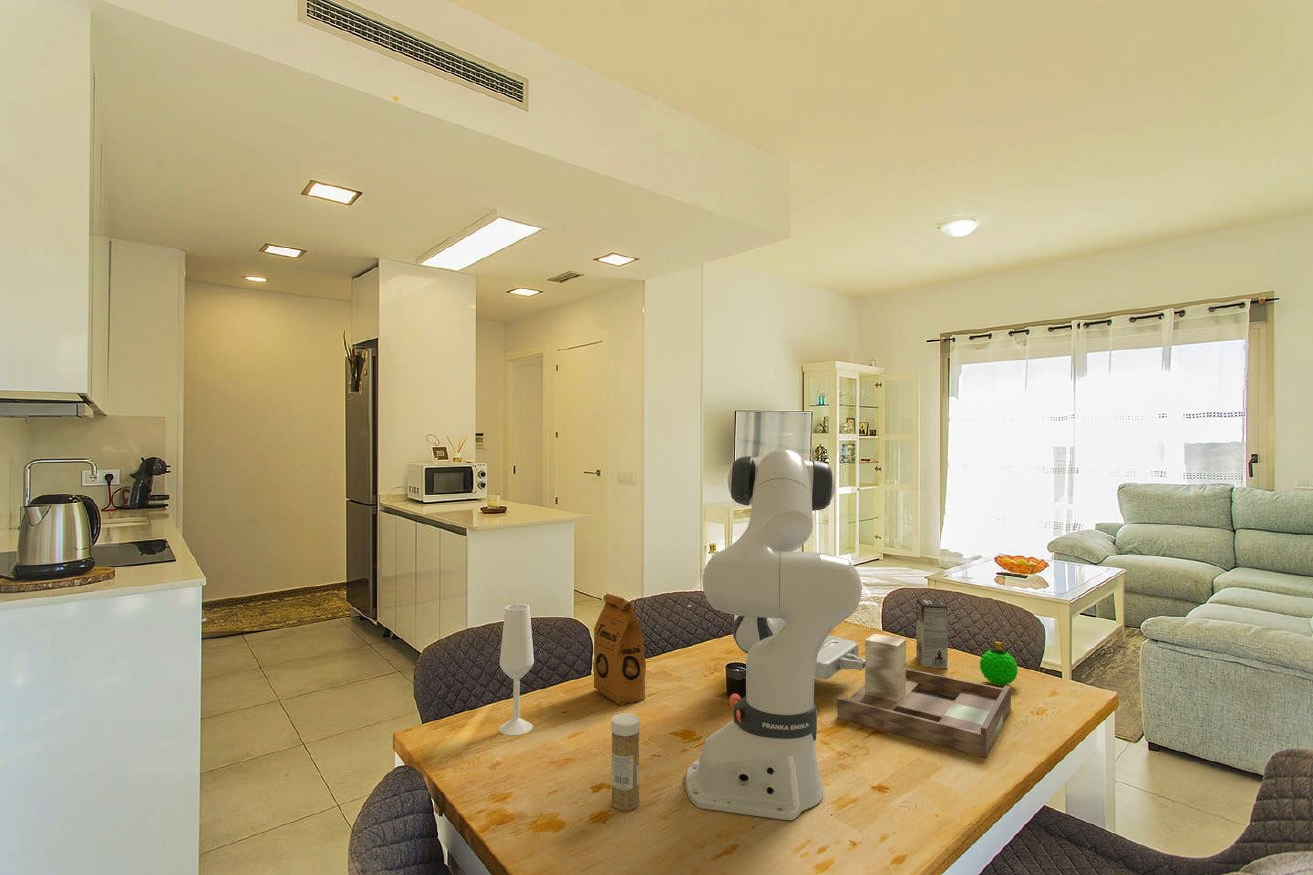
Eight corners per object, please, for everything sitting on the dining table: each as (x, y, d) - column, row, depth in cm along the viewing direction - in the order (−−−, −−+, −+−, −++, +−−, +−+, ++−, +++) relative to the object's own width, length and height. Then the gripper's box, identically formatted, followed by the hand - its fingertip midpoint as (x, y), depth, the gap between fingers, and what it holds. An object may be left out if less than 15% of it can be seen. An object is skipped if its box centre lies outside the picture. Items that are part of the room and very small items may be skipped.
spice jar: (645, 801, 102) (645, 716, 102) (628, 815, 98) (629, 726, 98) (621, 792, 104) (622, 709, 104) (604, 806, 100) (605, 719, 100)
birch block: (865, 694, 141) (865, 639, 142) (874, 686, 146) (874, 633, 146) (897, 702, 137) (897, 645, 137) (905, 693, 142) (905, 639, 142)
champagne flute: (538, 730, 127) (539, 608, 127) (504, 738, 123) (506, 612, 123) (526, 718, 132) (527, 601, 133) (494, 725, 129) (495, 605, 129)
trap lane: (837, 717, 134) (837, 693, 134) (880, 679, 156) (880, 658, 156) (985, 757, 117) (985, 730, 117) (1010, 708, 139) (1010, 685, 139)
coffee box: (915, 656, 174) (915, 596, 174) (940, 657, 173) (940, 598, 173) (922, 667, 165) (922, 604, 165) (948, 669, 164) (949, 606, 164)
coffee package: (611, 709, 137) (612, 606, 137) (588, 689, 148) (589, 594, 148) (652, 700, 142) (653, 601, 142) (626, 682, 153) (627, 589, 153)
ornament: (985, 675, 159) (985, 635, 160) (1022, 684, 154) (1022, 642, 154) (974, 684, 154) (974, 642, 154) (1012, 693, 148) (1012, 650, 148)
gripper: (787, 650, 145) (847, 662, 136) (823, 630, 161) (878, 640, 153) (787, 678, 145) (847, 692, 136) (823, 655, 161) (878, 667, 153)
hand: (864, 664), depth 145 cm, fingers closed
